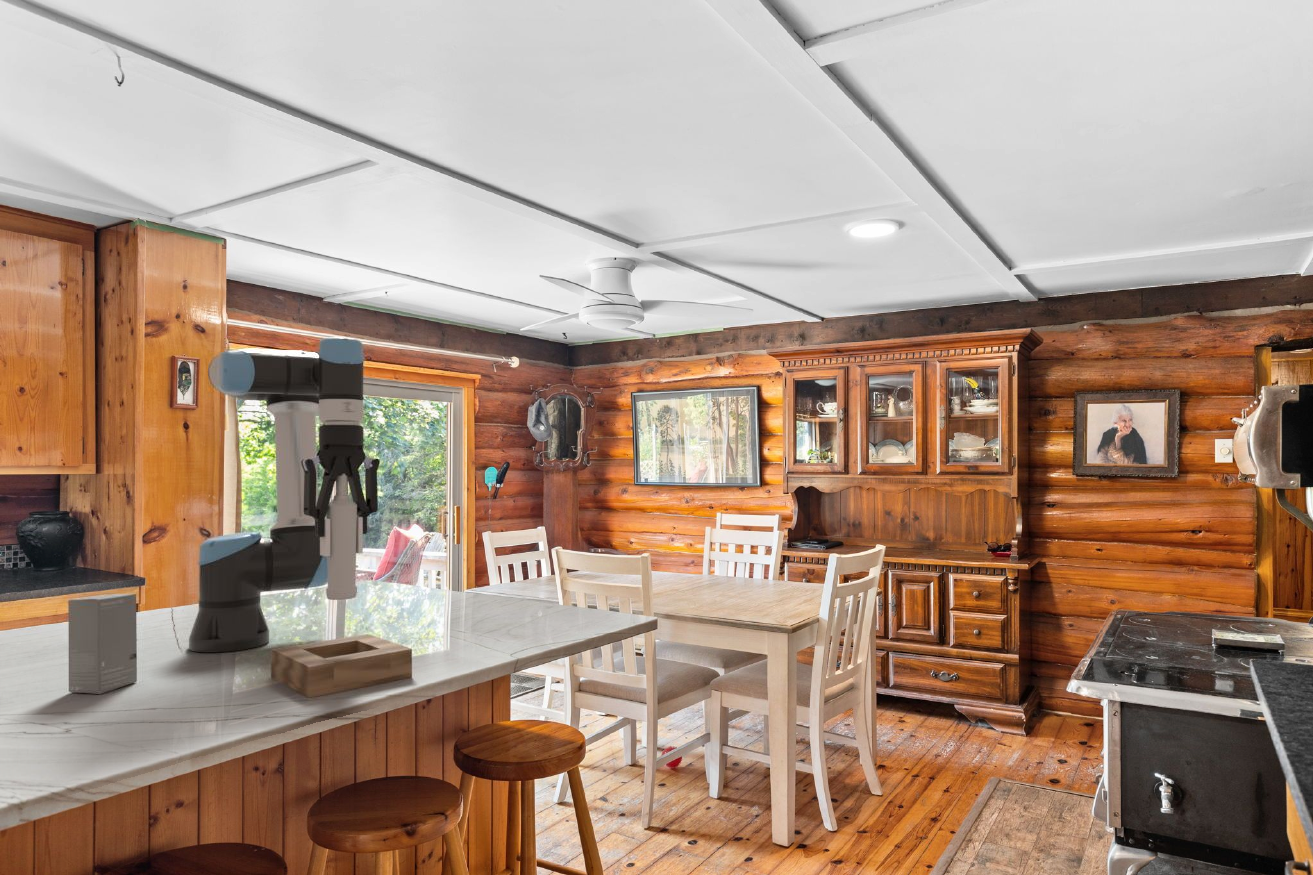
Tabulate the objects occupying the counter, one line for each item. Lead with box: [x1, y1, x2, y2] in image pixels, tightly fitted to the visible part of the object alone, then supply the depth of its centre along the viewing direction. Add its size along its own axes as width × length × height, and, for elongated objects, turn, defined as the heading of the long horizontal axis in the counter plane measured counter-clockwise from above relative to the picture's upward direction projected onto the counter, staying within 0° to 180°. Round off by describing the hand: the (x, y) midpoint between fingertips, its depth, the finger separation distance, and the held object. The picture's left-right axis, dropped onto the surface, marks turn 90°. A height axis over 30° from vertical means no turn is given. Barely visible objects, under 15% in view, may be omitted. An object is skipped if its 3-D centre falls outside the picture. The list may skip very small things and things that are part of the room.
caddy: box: [270, 633, 413, 699], centre depth 148 cm, size 18×18×5 cm
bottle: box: [325, 474, 358, 601], centre depth 149 cm, size 5×5×25 cm
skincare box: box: [67, 593, 138, 695], centre depth 143 cm, size 8×7×16 cm
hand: (341, 553), depth 148 cm, fingers closed on bottle, 5 cm apart
